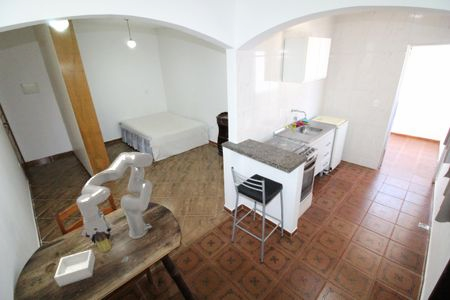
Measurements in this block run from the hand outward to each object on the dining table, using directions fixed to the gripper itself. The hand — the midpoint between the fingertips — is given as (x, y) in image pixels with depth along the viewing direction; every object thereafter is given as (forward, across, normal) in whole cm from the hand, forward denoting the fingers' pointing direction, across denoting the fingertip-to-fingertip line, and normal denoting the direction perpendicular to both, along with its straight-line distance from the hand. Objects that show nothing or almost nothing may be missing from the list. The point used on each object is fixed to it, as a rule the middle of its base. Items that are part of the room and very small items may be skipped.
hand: (102, 239), depth 121 cm
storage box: (+22, +19, -3) cm, 29 cm away
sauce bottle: (+9, 0, 0) cm, 9 cm away
